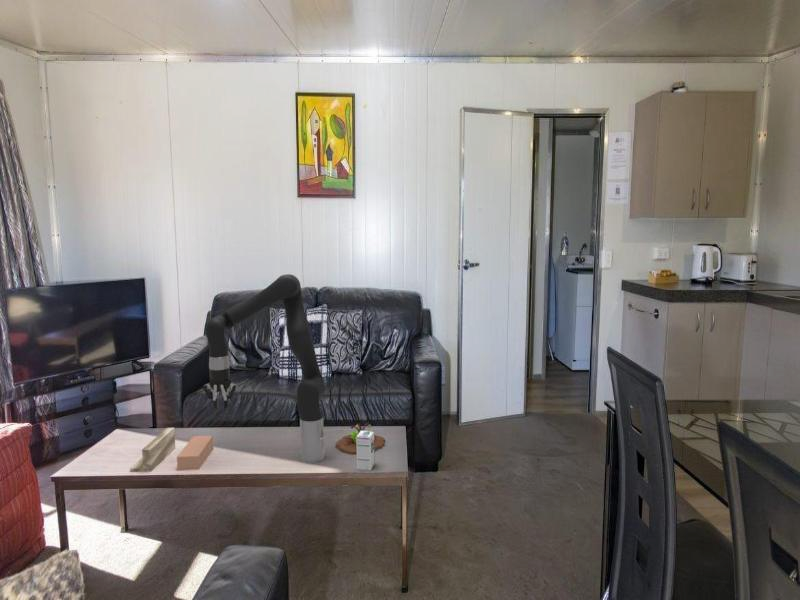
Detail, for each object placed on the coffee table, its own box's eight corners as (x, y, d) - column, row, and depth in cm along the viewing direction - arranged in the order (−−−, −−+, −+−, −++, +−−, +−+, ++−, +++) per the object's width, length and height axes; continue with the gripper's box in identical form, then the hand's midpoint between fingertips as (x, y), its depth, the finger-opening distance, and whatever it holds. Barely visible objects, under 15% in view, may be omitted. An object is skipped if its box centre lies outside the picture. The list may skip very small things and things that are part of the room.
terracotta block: (213, 449, 216) (212, 435, 216) (199, 470, 197) (198, 456, 196) (194, 449, 216) (193, 436, 215) (177, 471, 196) (176, 456, 195)
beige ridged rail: (175, 448, 217) (174, 427, 216) (151, 472, 195) (149, 449, 194) (156, 448, 217) (155, 427, 216) (130, 472, 195) (128, 449, 194)
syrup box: (371, 473, 194) (371, 436, 192) (356, 471, 195) (356, 435, 194) (375, 466, 200) (374, 431, 198) (360, 465, 201) (360, 429, 199)
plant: (327, 451, 215) (326, 425, 213) (353, 435, 232) (352, 411, 230) (367, 461, 205) (367, 434, 204) (391, 443, 222) (391, 418, 221)
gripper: (240, 364, 205) (241, 405, 208) (205, 364, 205) (207, 405, 207) (234, 369, 198) (236, 412, 200) (198, 369, 198) (200, 412, 200)
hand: (221, 408), depth 204 cm, fingers open, 3 cm apart
